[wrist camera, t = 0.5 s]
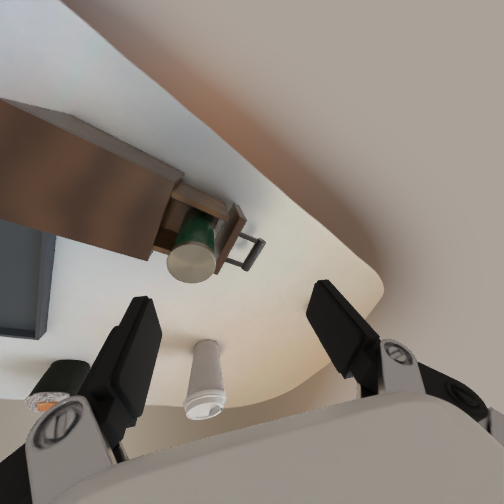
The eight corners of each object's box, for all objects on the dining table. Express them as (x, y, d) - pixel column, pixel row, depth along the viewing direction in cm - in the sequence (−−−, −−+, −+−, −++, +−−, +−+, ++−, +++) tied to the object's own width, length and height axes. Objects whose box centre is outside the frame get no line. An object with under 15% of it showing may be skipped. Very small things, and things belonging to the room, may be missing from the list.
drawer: (262, 216, 34) (274, 233, 27) (237, 259, 38) (243, 283, 31) (160, 166, 27) (144, 172, 20) (142, 225, 30) (123, 246, 24)
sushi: (91, 359, 45) (70, 397, 38) (89, 378, 48) (69, 415, 41) (49, 358, 42) (18, 398, 35) (50, 377, 45) (22, 418, 38)
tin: (189, 200, 29) (175, 237, 17) (218, 213, 31) (223, 254, 19) (179, 226, 31) (160, 276, 19) (207, 237, 33) (205, 288, 21)
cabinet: (184, 172, 28) (174, 182, 20) (162, 233, 33) (147, 261, 24) (69, 114, 23) (-9, 95, 15) (61, 196, 27) (-4, 218, 19)
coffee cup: (211, 359, 55) (212, 422, 42) (182, 353, 51) (173, 421, 38) (229, 340, 52) (235, 402, 40) (200, 332, 48) (196, 399, 35)
